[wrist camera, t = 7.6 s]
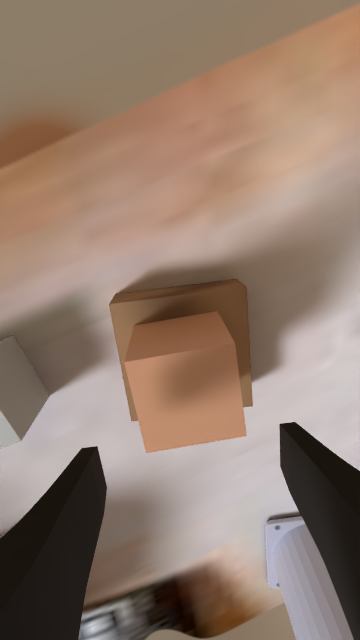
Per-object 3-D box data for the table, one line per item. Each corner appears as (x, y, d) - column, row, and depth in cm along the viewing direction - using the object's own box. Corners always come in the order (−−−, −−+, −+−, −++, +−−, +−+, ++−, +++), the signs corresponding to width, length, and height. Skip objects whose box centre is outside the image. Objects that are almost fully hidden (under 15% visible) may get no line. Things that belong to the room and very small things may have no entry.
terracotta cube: (217, 311, 19) (235, 342, 14) (227, 385, 21) (246, 435, 16) (133, 325, 19) (123, 362, 14) (150, 398, 21) (146, 453, 16)
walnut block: (235, 277, 22) (246, 287, 19) (242, 383, 24) (252, 406, 21) (116, 292, 22) (108, 304, 19) (135, 396, 24) (131, 421, 21)
